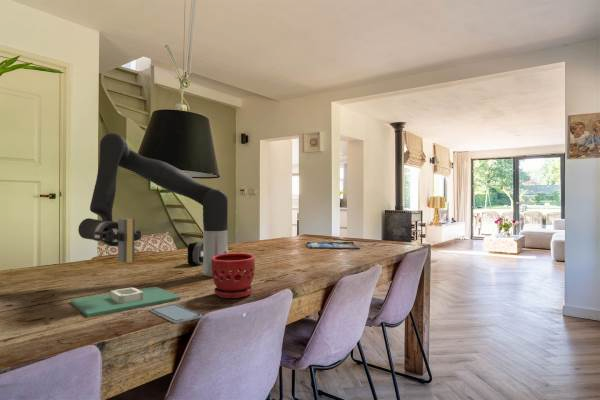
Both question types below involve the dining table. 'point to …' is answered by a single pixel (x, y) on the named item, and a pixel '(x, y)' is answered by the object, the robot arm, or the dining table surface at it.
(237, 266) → the plant pot
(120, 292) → the board
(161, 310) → the smartphone
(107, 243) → the robot arm
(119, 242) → the keyed plug
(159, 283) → the dining table surface
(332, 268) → the dining table surface
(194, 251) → the cpu cooler
